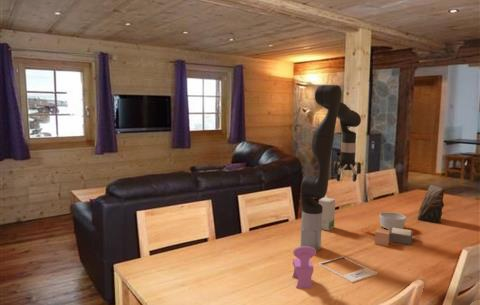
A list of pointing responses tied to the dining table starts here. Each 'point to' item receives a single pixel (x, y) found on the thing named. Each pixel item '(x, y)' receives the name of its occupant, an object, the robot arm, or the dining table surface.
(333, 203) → the skincare box
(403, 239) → the block
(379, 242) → the cube
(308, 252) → the purple figurine
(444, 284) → the dining table surface
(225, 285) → the dining table surface
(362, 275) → the photo frame
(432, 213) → the dark rock
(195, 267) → the dining table surface
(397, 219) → the ramekin
